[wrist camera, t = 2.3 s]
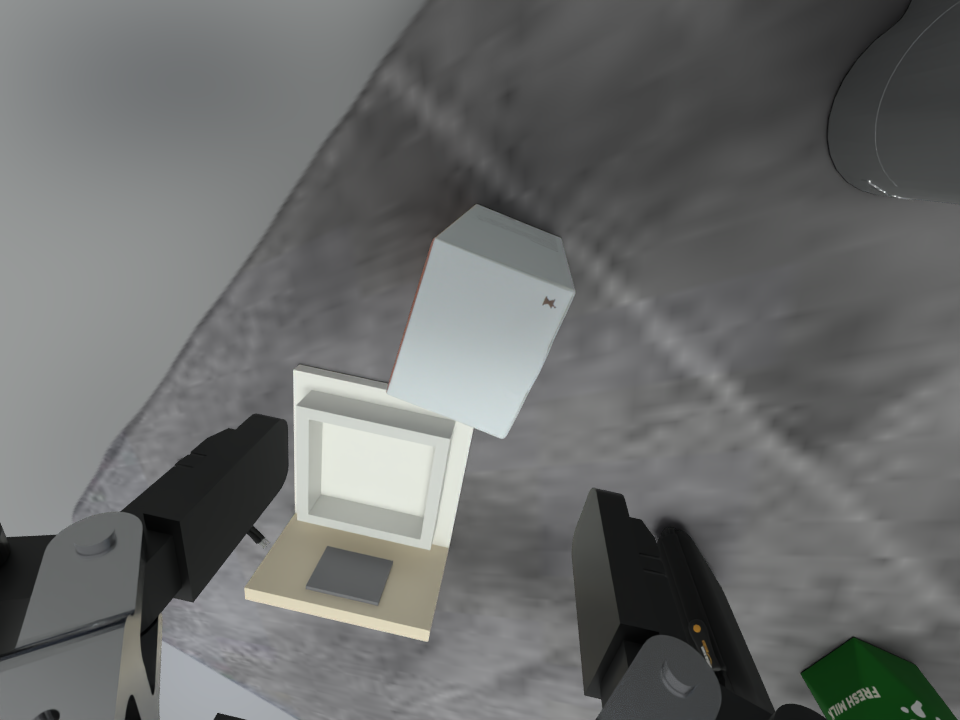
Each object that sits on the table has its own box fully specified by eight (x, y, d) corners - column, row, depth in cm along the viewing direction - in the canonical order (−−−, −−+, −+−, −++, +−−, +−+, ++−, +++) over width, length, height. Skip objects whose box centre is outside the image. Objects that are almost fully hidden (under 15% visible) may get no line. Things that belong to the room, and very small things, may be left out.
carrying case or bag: (639, 514, 38) (694, 705, 25) (673, 502, 37) (749, 694, 24) (689, 591, 41) (761, 797, 28) (721, 582, 40) (812, 791, 27)
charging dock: (299, 364, 36) (229, 425, 28) (478, 403, 35) (461, 476, 27) (300, 516, 43) (245, 599, 35) (448, 549, 43) (427, 641, 35)
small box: (475, 201, 29) (432, 231, 17) (563, 237, 29) (582, 290, 17) (438, 310, 32) (382, 396, 21) (517, 341, 33) (507, 443, 21)
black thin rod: (272, 540, 46) (267, 548, 45) (266, 543, 46) (260, 551, 45) (186, 456, 42) (178, 462, 41) (179, 460, 42) (172, 466, 41)
